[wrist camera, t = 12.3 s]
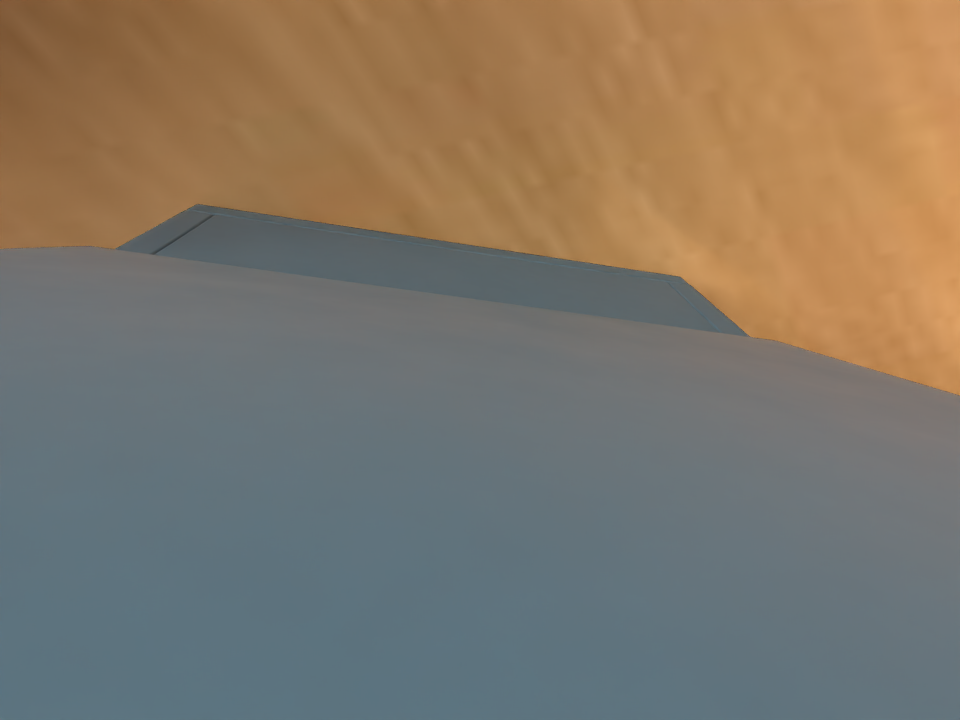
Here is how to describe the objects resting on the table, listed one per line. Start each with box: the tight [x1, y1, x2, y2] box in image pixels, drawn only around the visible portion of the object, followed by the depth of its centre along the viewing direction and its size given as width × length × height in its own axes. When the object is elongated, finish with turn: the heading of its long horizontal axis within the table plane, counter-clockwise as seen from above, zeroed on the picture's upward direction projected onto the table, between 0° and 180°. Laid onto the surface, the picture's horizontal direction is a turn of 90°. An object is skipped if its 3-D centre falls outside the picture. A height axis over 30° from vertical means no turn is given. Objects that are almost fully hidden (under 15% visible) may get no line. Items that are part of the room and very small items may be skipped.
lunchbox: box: [115, 204, 750, 337], centre depth 16 cm, size 15×13×4 cm
